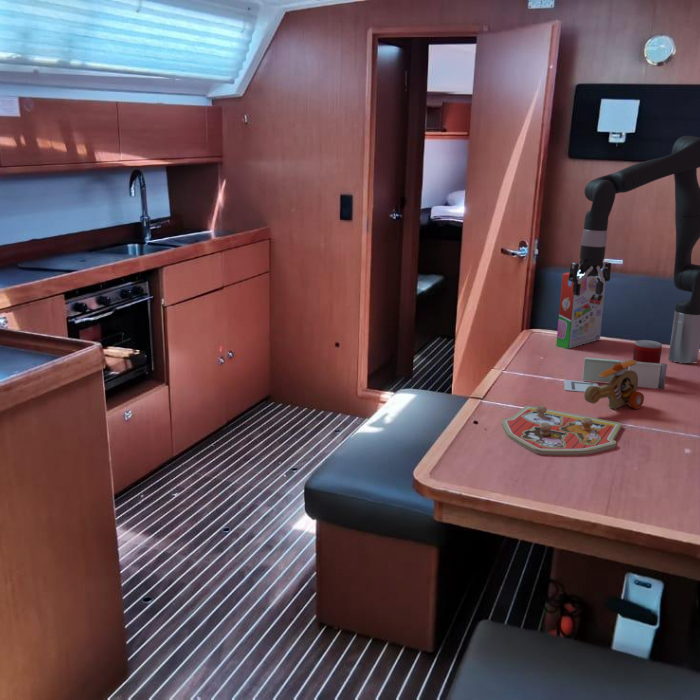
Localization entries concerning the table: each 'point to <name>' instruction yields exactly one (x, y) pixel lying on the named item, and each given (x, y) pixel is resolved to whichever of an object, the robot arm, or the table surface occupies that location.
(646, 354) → the canned food
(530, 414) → the knob puzzle
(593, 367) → the swing panel
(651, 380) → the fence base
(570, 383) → the card
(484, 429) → the table surface
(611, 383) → the toy helicopter
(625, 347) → the table surface
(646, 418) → the table surface
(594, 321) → the game box
